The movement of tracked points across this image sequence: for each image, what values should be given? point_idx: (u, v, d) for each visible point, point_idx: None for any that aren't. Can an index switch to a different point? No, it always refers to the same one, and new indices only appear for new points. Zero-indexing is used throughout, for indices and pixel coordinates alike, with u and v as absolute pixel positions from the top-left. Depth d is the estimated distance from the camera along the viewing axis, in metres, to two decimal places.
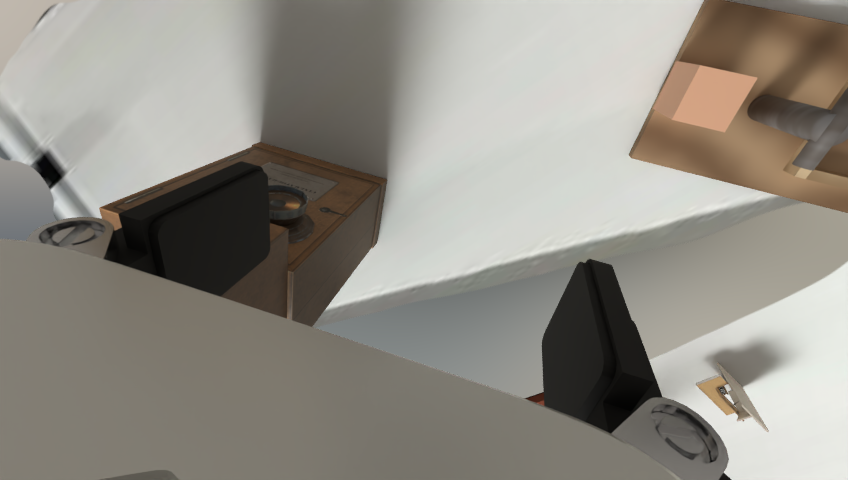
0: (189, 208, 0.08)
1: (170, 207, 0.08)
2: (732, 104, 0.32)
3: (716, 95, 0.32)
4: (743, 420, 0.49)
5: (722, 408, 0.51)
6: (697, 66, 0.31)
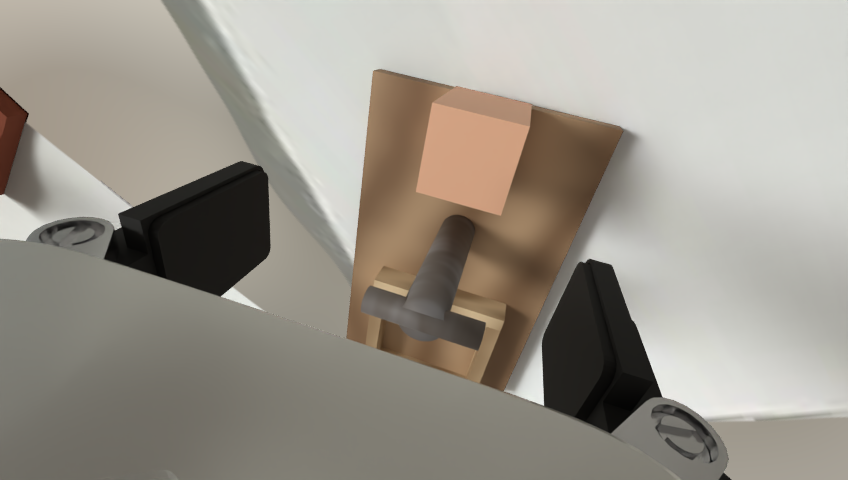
0: (189, 208, 0.08)
1: (170, 207, 0.08)
2: (460, 192, 0.19)
3: (475, 165, 0.18)
4: None
5: None
6: (527, 123, 0.17)
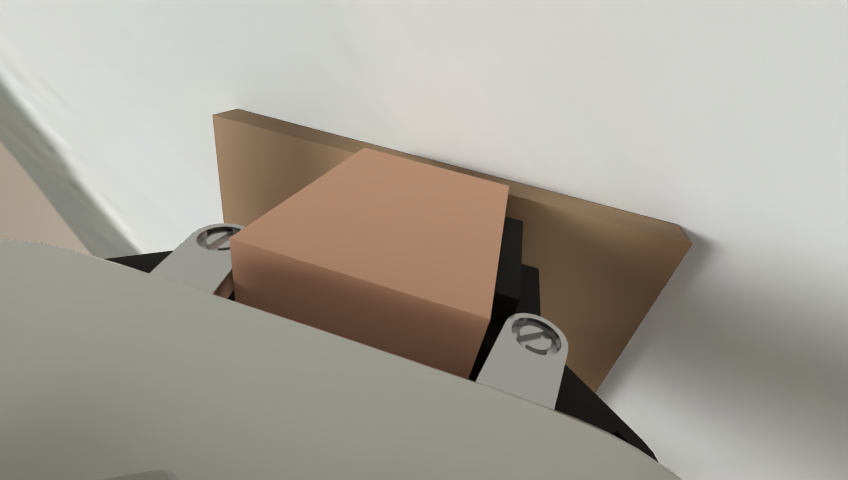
0: None
1: None
2: None
3: None
4: None
5: None
6: (484, 300, 0.06)
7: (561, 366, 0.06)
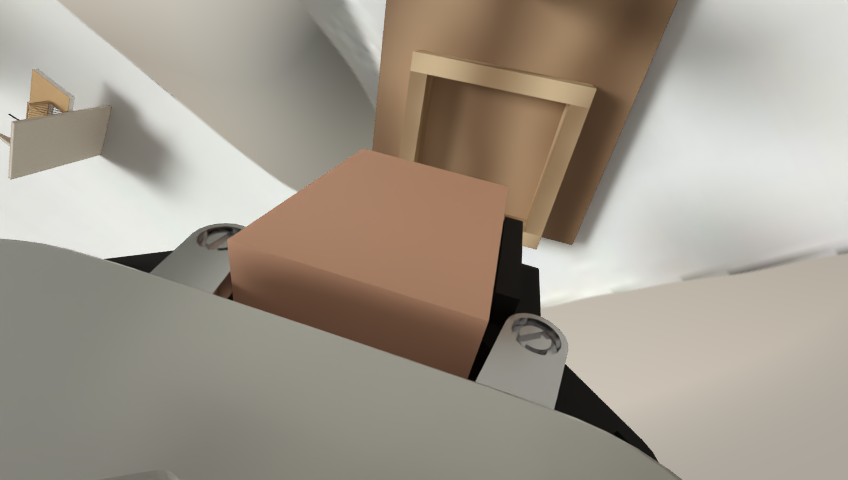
0: None
1: None
2: None
3: None
4: None
5: None
6: (483, 302, 0.06)
7: (561, 366, 0.06)
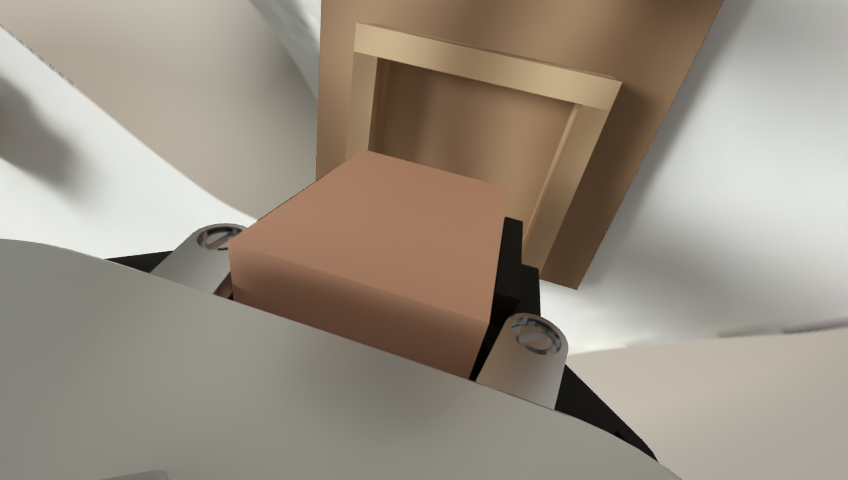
0: None
1: None
2: None
3: None
4: None
5: None
6: (483, 304, 0.06)
7: (561, 366, 0.06)
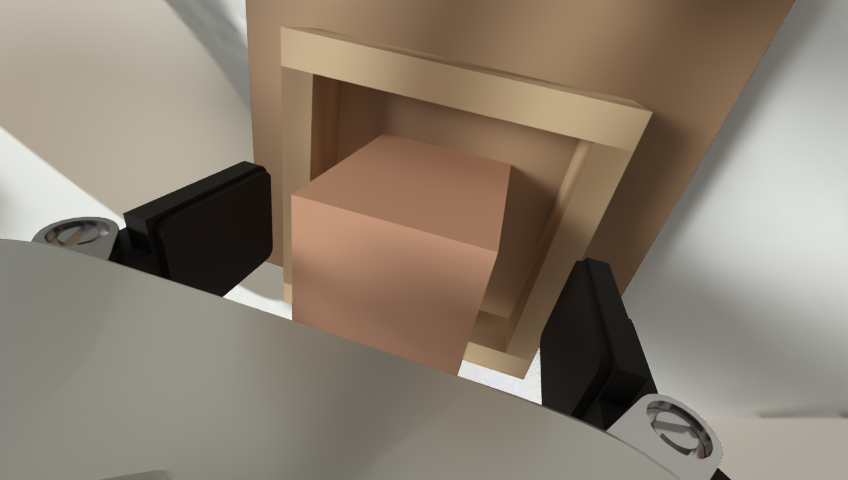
0: (193, 208, 0.08)
1: (175, 206, 0.08)
2: None
3: (393, 312, 0.09)
4: None
5: None
6: (493, 240, 0.08)
7: (705, 477, 0.05)
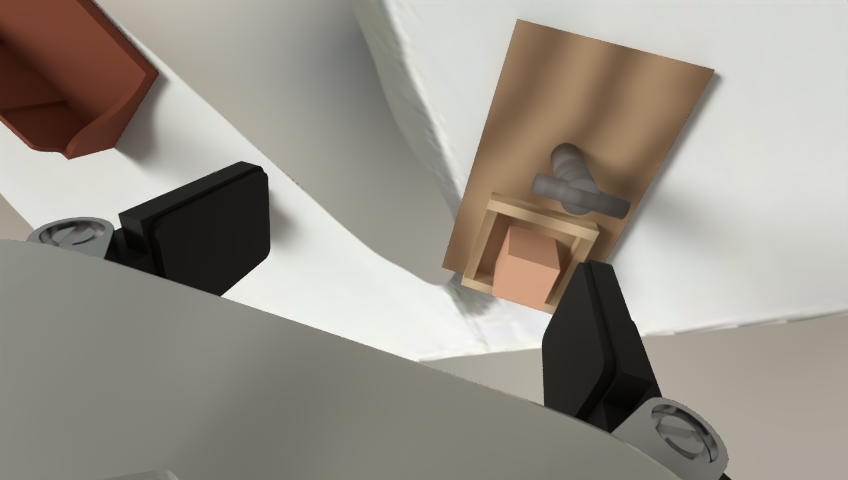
0: (189, 208, 0.08)
1: (170, 206, 0.08)
2: (518, 297, 0.33)
3: (528, 285, 0.33)
4: None
5: None
6: (558, 267, 0.32)
7: None
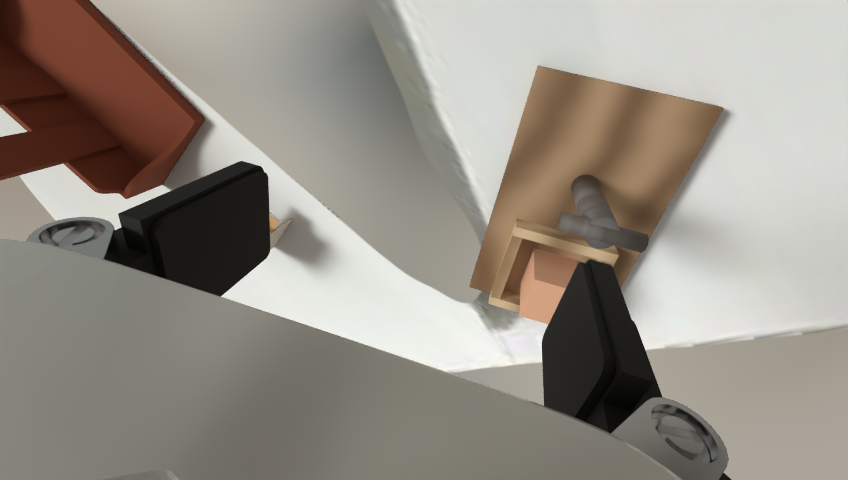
0: (189, 208, 0.08)
1: (170, 206, 0.08)
2: (544, 317, 0.36)
3: (553, 306, 0.35)
4: None
5: None
6: None
7: None
